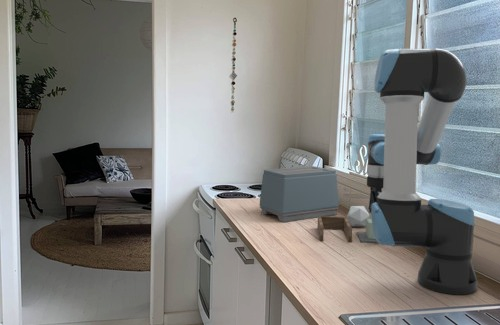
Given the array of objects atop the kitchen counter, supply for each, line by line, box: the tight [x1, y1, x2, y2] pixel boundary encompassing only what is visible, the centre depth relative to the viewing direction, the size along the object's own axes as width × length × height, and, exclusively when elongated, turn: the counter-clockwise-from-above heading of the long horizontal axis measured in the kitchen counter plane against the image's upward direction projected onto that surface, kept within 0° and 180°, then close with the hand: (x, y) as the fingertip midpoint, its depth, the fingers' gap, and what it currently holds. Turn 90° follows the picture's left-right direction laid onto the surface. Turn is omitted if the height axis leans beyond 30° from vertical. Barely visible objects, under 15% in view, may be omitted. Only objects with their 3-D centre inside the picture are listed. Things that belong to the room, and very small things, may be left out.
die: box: [346, 205, 370, 228], centre depth 192 cm, size 8×9×10 cm
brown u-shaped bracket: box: [317, 215, 353, 243], centre depth 178 cm, size 18×11×5 cm, turn 175°
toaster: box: [259, 166, 340, 223], centre depth 211 cm, size 19×35×20 cm, turn 120°
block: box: [365, 219, 374, 239], centre depth 174 cm, size 6×6×6 cm
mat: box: [356, 231, 379, 244], centre depth 174 cm, size 12×12×1 cm
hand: (375, 234), depth 174 cm, fingers open, 11 cm apart
